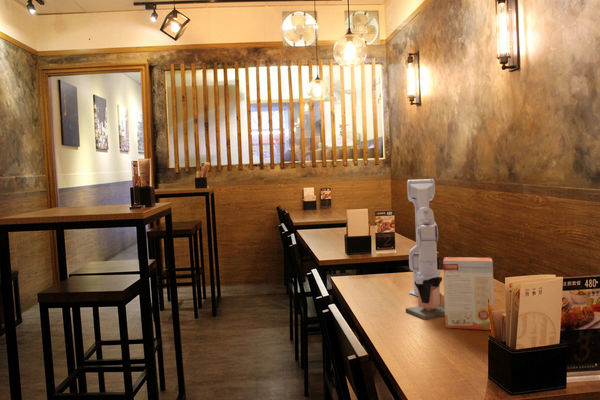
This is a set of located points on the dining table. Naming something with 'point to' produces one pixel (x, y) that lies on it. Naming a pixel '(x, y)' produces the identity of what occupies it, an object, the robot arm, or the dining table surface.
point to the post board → (426, 312)
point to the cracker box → (468, 292)
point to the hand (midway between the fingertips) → (429, 300)
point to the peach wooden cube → (431, 298)
